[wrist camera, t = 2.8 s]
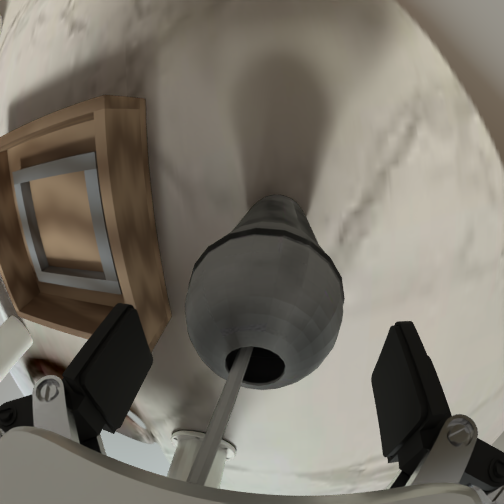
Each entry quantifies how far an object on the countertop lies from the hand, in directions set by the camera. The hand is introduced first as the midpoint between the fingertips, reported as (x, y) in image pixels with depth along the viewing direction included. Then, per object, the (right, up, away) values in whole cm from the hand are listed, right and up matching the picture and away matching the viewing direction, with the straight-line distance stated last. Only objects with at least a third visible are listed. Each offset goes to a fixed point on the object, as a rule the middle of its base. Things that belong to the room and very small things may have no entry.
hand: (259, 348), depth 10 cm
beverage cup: (+2, +6, +14) cm, 15 cm away
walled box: (-20, +7, +16) cm, 27 cm away
